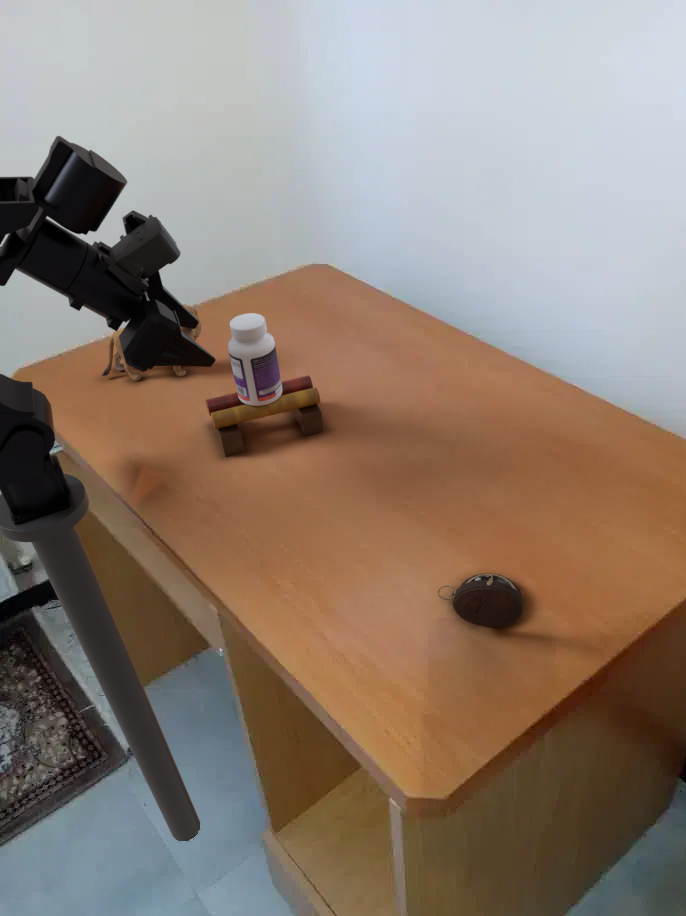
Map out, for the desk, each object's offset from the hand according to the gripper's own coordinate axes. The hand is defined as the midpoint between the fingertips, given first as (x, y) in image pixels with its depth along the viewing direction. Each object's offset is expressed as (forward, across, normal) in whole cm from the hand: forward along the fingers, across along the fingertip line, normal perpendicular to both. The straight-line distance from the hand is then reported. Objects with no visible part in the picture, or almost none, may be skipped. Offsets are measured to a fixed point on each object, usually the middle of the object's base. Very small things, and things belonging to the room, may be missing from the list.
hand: (204, 343), depth 88 cm
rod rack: (+13, 0, +6) cm, 14 cm away
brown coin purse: (+21, -37, -2) cm, 43 cm away
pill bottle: (+10, 0, +2) cm, 10 cm away
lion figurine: (+6, +20, +13) cm, 25 cm away
